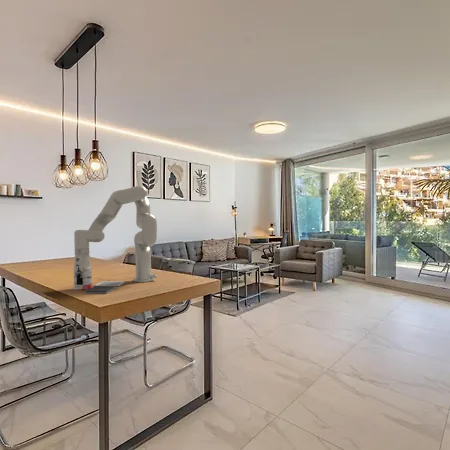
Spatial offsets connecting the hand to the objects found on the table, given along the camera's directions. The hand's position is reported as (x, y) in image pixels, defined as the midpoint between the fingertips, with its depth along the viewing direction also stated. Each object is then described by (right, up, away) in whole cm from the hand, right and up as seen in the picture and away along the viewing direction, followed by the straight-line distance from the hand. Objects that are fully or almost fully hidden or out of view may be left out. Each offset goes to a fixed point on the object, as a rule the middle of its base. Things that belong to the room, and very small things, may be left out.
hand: (82, 283), depth 170 cm
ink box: (0, -3, 0) cm, 3 cm away
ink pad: (+13, -3, -6) cm, 15 cm away
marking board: (+11, -3, +12) cm, 16 cm away
